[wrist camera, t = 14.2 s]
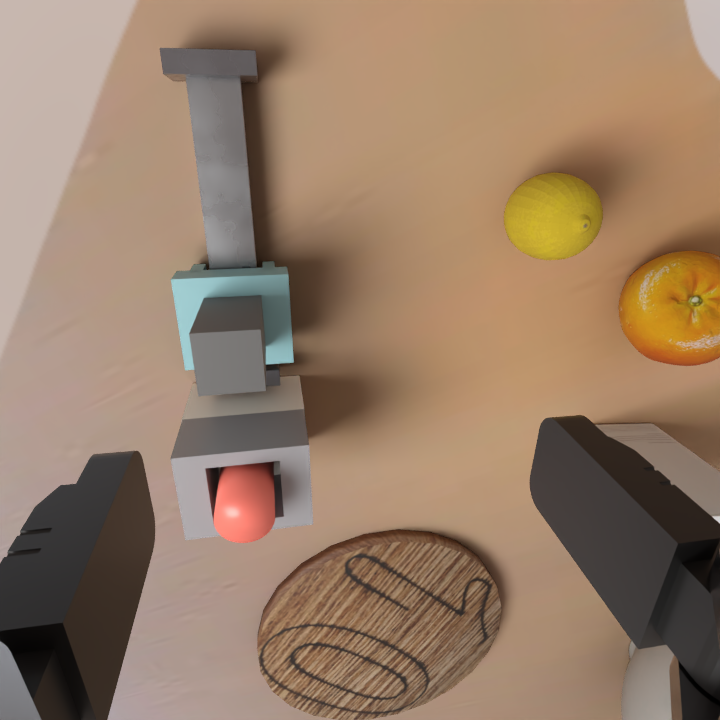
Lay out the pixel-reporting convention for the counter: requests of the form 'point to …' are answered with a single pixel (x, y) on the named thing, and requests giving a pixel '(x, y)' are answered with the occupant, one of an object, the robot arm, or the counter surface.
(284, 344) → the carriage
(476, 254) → the counter surface
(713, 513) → the supplement box
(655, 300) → the fruit
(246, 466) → the button
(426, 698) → the trivet
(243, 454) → the grey and white block
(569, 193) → the lemon
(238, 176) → the rail
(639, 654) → the decorative bowl
